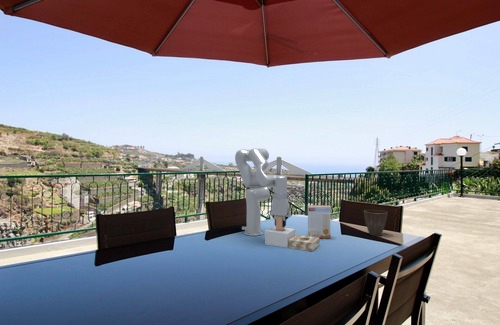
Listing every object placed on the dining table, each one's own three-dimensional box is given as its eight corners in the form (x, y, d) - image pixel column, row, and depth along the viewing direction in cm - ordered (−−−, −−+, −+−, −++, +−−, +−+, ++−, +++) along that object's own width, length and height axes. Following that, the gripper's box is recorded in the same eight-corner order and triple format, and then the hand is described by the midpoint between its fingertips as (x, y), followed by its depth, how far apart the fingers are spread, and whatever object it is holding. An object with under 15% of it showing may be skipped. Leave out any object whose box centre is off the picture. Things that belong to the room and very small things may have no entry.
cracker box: (329, 236, 192) (329, 205, 192) (330, 239, 186) (330, 206, 186) (307, 236, 194) (307, 204, 194) (308, 238, 188) (308, 206, 188)
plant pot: (388, 234, 201) (388, 210, 201) (385, 238, 189) (385, 213, 189) (366, 231, 209) (366, 209, 209) (361, 235, 197) (361, 211, 197)
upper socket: (265, 244, 173) (265, 230, 173) (274, 239, 185) (274, 226, 185) (287, 247, 166) (287, 233, 166) (295, 242, 179) (295, 229, 179)
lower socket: (288, 247, 166) (288, 240, 166) (296, 242, 178) (296, 234, 178) (312, 251, 159) (313, 243, 159) (319, 245, 172) (319, 237, 172)
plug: (275, 236, 175) (276, 216, 175) (278, 234, 179) (278, 215, 179) (282, 236, 173) (282, 216, 173) (284, 235, 177) (284, 215, 177)
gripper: (265, 196, 177) (265, 226, 177) (291, 197, 169) (291, 229, 169) (270, 194, 183) (270, 223, 183) (295, 196, 175) (295, 226, 175)
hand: (280, 226), depth 176 cm, fingers closed on plug, 4 cm apart
